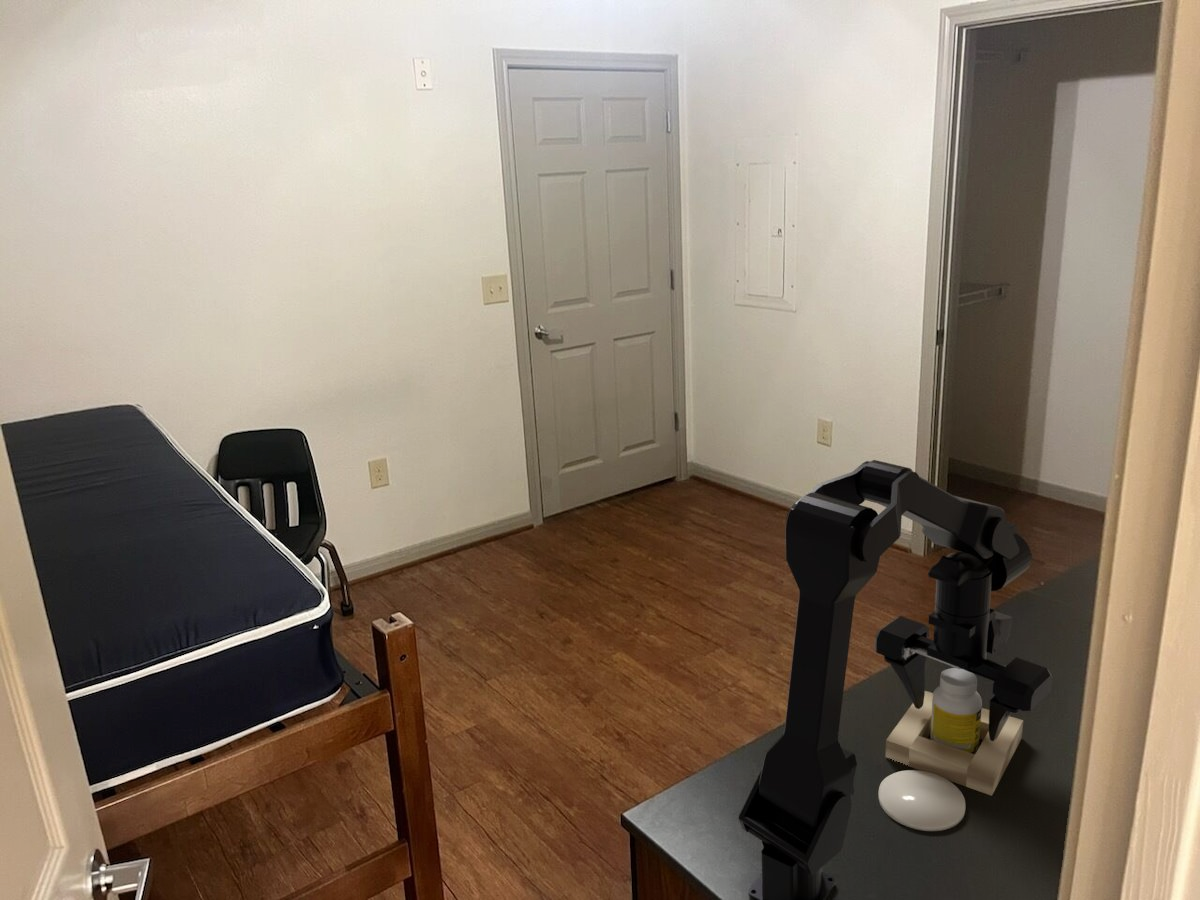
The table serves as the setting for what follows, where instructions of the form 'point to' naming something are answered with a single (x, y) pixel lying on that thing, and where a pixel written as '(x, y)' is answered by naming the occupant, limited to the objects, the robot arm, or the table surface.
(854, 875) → the table surface
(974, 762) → the frame
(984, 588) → the robot arm
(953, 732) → the supplement bottle
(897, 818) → the ceramic coaster
